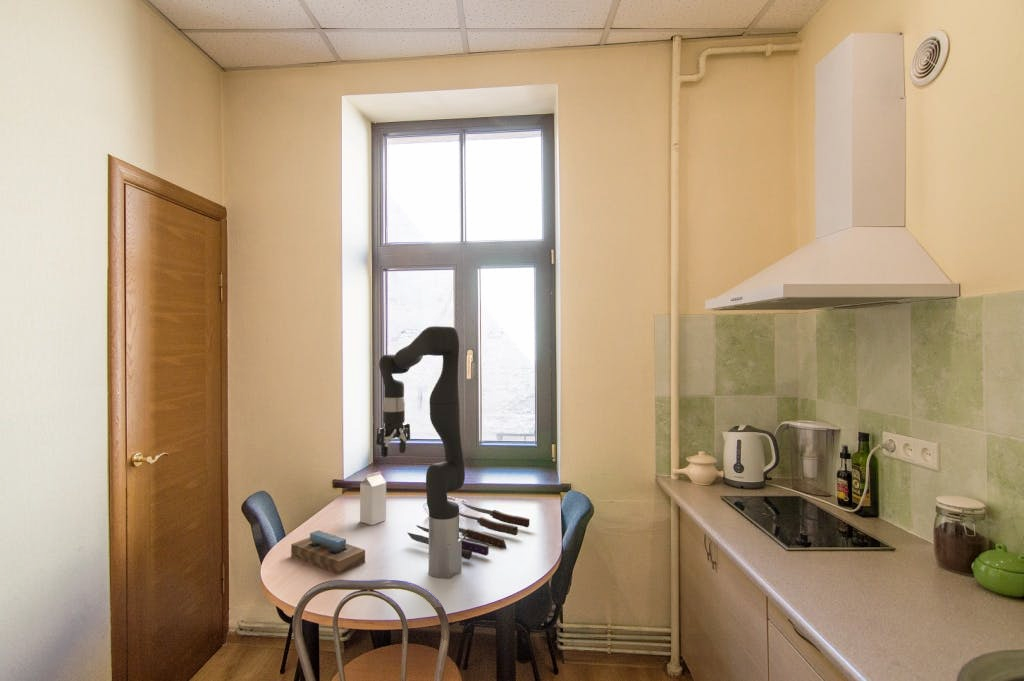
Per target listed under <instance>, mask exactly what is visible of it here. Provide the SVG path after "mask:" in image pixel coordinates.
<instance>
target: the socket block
mask: <svg viewBox="0 0 1024 681" xmlns="http://www.w3.org/2000/svg"><path fill="white" fill-rule="evenodd" d="M290 548H291V549H290V553H291V554H290V556H291V557H292V558H295V559H296V560H300V561H302V562H305V563H308V564H309V565H310V564H311V566H315V567H317V568H320V569H323V570H325V571H328V572H331V573H334V574H336V575H341V574H344V573H345V572H348V571H350V570H352V569H354V568H356V567H359V566H361V565H363V564H365V563H366V549H365V548H361V547H357V546H355V545H351V544H349V543H346V547H345V548H344V551H343V552H340V553H338V554H336V555H335V554H332V548H329V547H326V546H323V545H320V546H318V547H312V541H310V536H309V537H307V538H304V539H301V540H298V541H297V542H294V543H293V542H292V543H291V545H290Z"/></svg>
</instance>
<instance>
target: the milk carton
mask: <svg viewBox="0 0 1024 681" xmlns="http://www.w3.org/2000/svg"><path fill="white" fill-rule="evenodd" d="M359 485H360V486H359V488H360V491H359V500H360V501H359V522H360V523H363V524H365V525H369V526H374V525H377V524H379V523H382V522H384V521H386V520H387V481H386V480H385V478H384V477H383V476H382V472H381V470H380V471H377V472H372V473H368V474H365V478H364V479H363V480H362V481H361V483H360V484H359Z"/></svg>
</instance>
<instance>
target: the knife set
mask: <svg viewBox="0 0 1024 681" xmlns="http://www.w3.org/2000/svg"><path fill="white" fill-rule="evenodd" d="M460 503H461V504H462V505H463V506H465V507H467V508H469V509H471V510H473V511H475V512H478V513H482V514H487V515H489V517H492V518H493V519H495V520H497V521H494V520H491V519H489V518H486V517H483V516H480V517H478V516H473V515H470V514H464V513H462V512H459V517H460V516H461V517H463V518H466V519H470V520H475V521H476V522H477V523H478V524H479V526H481V527H484V528H486V529H488V530H491V531H493V532H494V531H495V532H497V533H504V534H508V535H513V536H517V535H518V532H519V530H518V529H519V527H524V528H529V527H530V518H527V517H523V516H519V515H512V514H508V513H504V512H502V511H500V510H496V509H493V510H492V509H491V510H490V509H487V508H481V507H478V506H473V505H470V504H468V503H464V502H463V501H460ZM498 521H499V522H498ZM502 522H503V523H502ZM415 526H416V527H417V528H418V529H421V530H422V531H424V532H426V533H427V534H429V527H428V528H427V527H424V526H421V525H418V524H416V525H415ZM518 526H519V527H518ZM459 533H460V534H461V535H462V536H463V537H460V536H459V539H461V540H462V558H463V559H466V560H470V559H471V558H472V555H473V553H475V554H479V555H482V556H485V557H486V556H488V555H489V545H491V546H494V547H496V546H497V548H501V549H503V548H505V549H506V548H507V544H506V541H505V539H504V538H501V537H499V536H496V535H492V534H489V533H486V532H483V531H479V530H475V529H472V528H467V529H466V528H463V527H459ZM407 534H408V536H409V537H410V539H411V540H413V541H415V542H418V543H423V544H425V545H428V546H429V537H427V536H425V535H421V534H420V535H419V534H415V533H411V532H407ZM466 538H468V539H471V540H473V541H470V540H466ZM475 541H477V542H475ZM480 542H481V543H480ZM483 543H484V544H483ZM486 544H487V545H486Z"/></svg>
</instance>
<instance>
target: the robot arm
mask: <svg viewBox="0 0 1024 681" xmlns="http://www.w3.org/2000/svg"><path fill="white" fill-rule="evenodd" d="M418 334H419V333H418ZM424 356H433V357H434V356H435V357H437V356H441V357H442V368H441V372H440V376H439V377H438V379H437V381H436V383H435V385H434V387H433V388H432V391H431V393H430V396H429V416H430V418H429V419H430V422H431V424H432V427H433V429H434V430H435V432H436V433H437V435H438V436H439V438H440V439H441V440H440V441H441V442H442V445H443V448H444V449H443V450H444V461H441V462H436V463H433V464H431V465H430V466H429V467H428V468H427V470H426V475H425V486H426V490H425V491H426V506H427V510H428V529H429V533H428V538H429V545H428V574H429V575H430V576H432V577H434V578H439V579H440V578H442V579H443V578H445V579H446V578H447V579H450V578H452V577H454V576H456V575H457V574H459V573H460V572H462V558H463V557H462V540H461V539H459V537H460V532H459V528H460V515H459V513H460V505H459V504H458V503H457V502H455V501H453V500H448V495H447V494H448V493H451V492H454V491H457V490H460V489H461V488H462V487H463V485H464V484H465V479H466V478H465V477H466V473H465V472H466V471H465V463H464V456H463V455H464V454H463V449H462V439H461V425H460V424H461V420H460V418H461V416H460V415H461V413H460V412H461V411H460V395H459V392H460V391H459V358H460V357H459V356H460V338H459V333H458V331H457V329H456V328H455V327H454V326H437V325H436V326H435V325H431V326H428V327H426V328H425V329H423V330H422V331H421V332H420V334H419V335H417V336H416V337H415V338H414V339H413V340H412V342H410V344H408V345H406V346H404V347H402V348H401V349H399V350H398V351H397V352H395V354H383V355H382V356H381V357H380V359H379V363H378V366H379V371H380V374H381V376H382V377H381V378H382V382H383V388H384V390H383V391H384V392H383V405H382V406H383V412H382V413H383V414H382V418H383V419H382V422H383V424H384V427H377V429H376V442H375V444H376V445H377V446H379V447H380V454H381V456H382V457H383V458H387V457H388V455H389V451H388V450H389V449H388V448H389V447H388V445H389V443H390V442H391V441H392V439H393V440H394V439H396V438H397V439H398V440H399V445H398V446H399V453H401V454H405V453H406V451H407V450H406V448H407V446H406V443H407V441H410V439H411V425H410V424H409V423H405V421H406V418H405V414H406V413H405V412H406V411H405V410H406V409H405V408H406V406H405V404H406V403H405V383H404V382H403V380H402V381H401V380H398V379H395V378H394V377H393V375H395V374H397V375H398V374H399V375H400V374H405V373H408V372H409V370H410V369H411V367H414V366H415V365H418V363H420V362H421V361H422V359H423V357H424Z"/></svg>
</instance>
